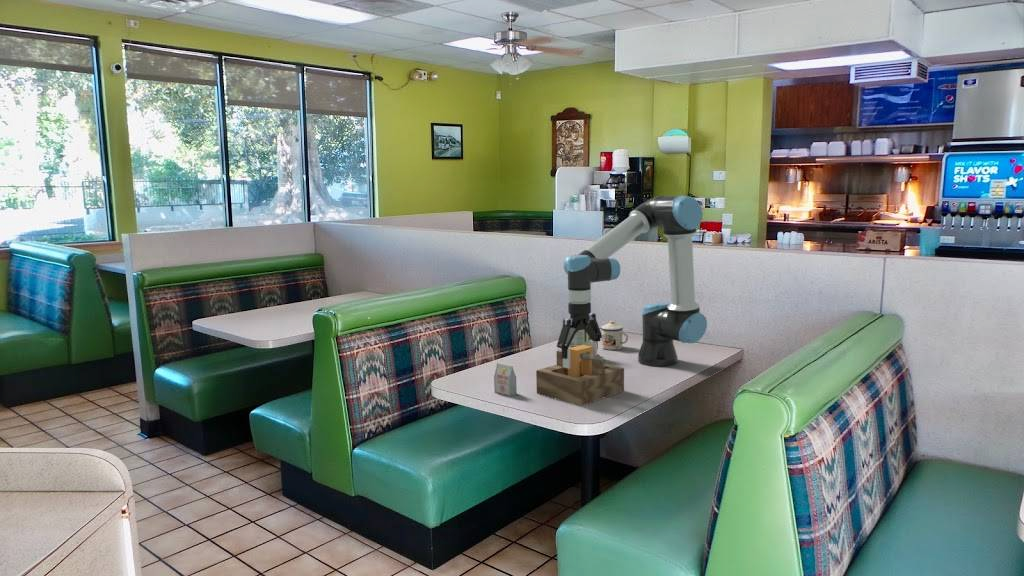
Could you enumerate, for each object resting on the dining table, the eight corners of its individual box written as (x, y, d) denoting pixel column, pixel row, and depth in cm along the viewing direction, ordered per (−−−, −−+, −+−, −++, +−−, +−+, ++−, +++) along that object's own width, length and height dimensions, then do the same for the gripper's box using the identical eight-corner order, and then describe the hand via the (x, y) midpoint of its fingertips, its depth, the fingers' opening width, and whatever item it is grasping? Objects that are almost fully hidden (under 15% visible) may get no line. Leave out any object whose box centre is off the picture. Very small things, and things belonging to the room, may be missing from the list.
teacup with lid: (597, 348, 298) (597, 321, 296) (607, 344, 305) (607, 318, 303) (622, 352, 291) (622, 324, 289) (632, 347, 298) (632, 320, 296)
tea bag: (501, 390, 243) (501, 362, 242) (516, 393, 239) (515, 365, 237) (494, 392, 241) (493, 364, 239) (509, 396, 236) (508, 367, 235)
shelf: (579, 379, 253) (579, 341, 251) (624, 390, 239) (624, 350, 237) (536, 393, 239) (535, 353, 236) (581, 406, 224) (580, 363, 222)
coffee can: (566, 355, 288) (565, 321, 286) (591, 355, 287) (591, 321, 285) (565, 361, 278) (565, 327, 276) (592, 361, 277) (591, 327, 275)
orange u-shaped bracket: (583, 373, 242) (583, 344, 241) (592, 375, 239) (592, 346, 238) (567, 377, 237) (567, 348, 235) (576, 379, 234) (576, 350, 232)
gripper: (595, 295, 245) (595, 354, 248) (545, 305, 228) (546, 369, 232) (612, 297, 240) (612, 358, 243) (562, 308, 223) (563, 373, 226)
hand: (580, 363), depth 237 cm, fingers open, 13 cm apart
